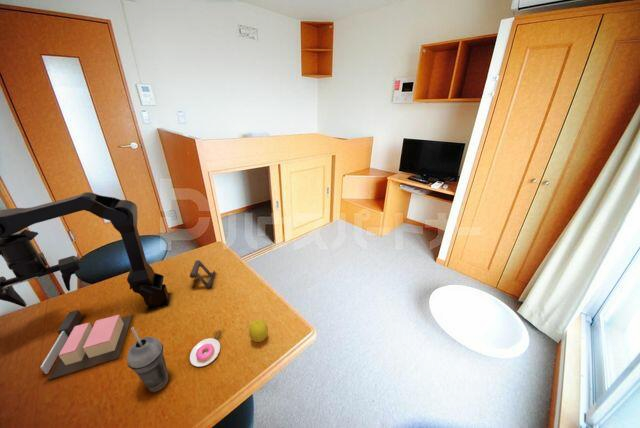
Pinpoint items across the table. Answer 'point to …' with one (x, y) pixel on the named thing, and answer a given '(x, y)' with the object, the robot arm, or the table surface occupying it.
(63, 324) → the knife
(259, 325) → the lemon
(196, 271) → the tablet stand
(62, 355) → the cake slice
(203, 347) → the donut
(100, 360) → the cake board
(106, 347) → the cake
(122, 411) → the table surface
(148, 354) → the beverage cup
